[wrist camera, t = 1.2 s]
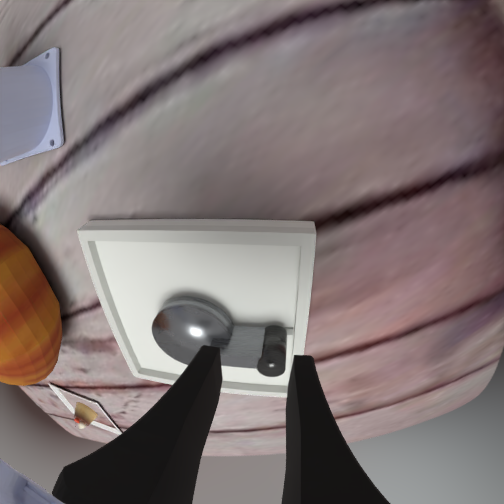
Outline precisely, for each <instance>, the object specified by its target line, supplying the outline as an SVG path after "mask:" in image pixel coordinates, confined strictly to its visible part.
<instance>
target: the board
mask: <svg viewBox="0 0 504 504" xmlns="http://www.w3.org/2000/svg"><path fill="white" fill-rule="evenodd" d="M77 233H78V237H79V240H80V244H81V247H82V251H83V254H84V257H85V260H86V263H87V266H88V269H89V272H90V275H91V278H92V281H93V284H94V287H95V289H96V292H97V295H98V298H99V300H100V303H101V305H102V308H103V310H104V313H105V315H106V318H107V320H108V322H109V325H110V327H111V330H112V332H113V334H114V336H115V339H116V341H117V343H118V345H119V347H120V349H121V352H122V354H123V356H124V358H125V360H126V362H127V364H128V366H129V368H130V370H131V372H132V374H133V376H134V377H138V378H142V379H147V380H151V381H156V382H161V383H166V384H171V385H173V384H174V383H175V381H176V380H177V379H178V378H179V377H180V375H181V374H182V373H183V372H184V370H185V369H186V368H187V366H188V365H186V364H183V363H181V362H179V361H177V360H175V359H173V358H171V357H170V356H169V355H167V354H166V353H165V352H164V351H163V350H162V349H161V348H160V347H159V346H158V344H157V343H156V341H155V340H154V337H153V334H152V323H153V321H154V319H155V317H156V315H157V314H158V312H159V310H160V308H161V307H162V305H163V304H164V303H165V302H166V301H168V300H170V299H172V298H175V297H179V296H192V297H197V298H201V299H204V300H207V301H209V302H211V303H213V304H215V305H216V306H218V307H219V308H221V309H222V310H223V311H224V312H225V313H226V314H227V315H228V316H229V317H230V319H231V320H232V322H233V324H234V326H245V327H261V328H266V327H267V326H270V325H278V326H281V327H283V328H284V329H285V330H286V331H287V351H286V369H285V372H284V373H283V374H282V375H280V376H277V377H267V376H264V375H262V374H260V373H259V372H258V370H257V369H253V368H241V367H230V366H221V367H222V377H223V380H222V386H221V391H220V392H224V393H233V394H243V395H254V396H268V397H287V390H288V383H289V378H290V373H291V368H292V363H293V358H294V355H303V354H304V346H305V339H306V331H307V324H308V315H309V307H310V298H311V289H312V279H313V268H314V257H315V245H316V229H315V224H314V221H291V220H249V219H128V220H90V221H89V222H88V223H86V224H85V225H84V226H82V227H81V228H80V229H78V230H77Z"/></svg>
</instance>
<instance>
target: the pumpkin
mask: <svg viewBox="0 0 504 504" xmlns="http://www.w3.org/2000/svg"><path fill="white" fill-rule="evenodd" d="M61 340H62V322H61V315H60V306H59V302H58V300H57V298H56V296H55V295H54V293H53V291H52V289H51V287H50V285H49V283H48V281H47V279H46V277H45V276H44V274H43V272H42V271H41V269H40V267H39V266H38V264H37V262H36V260H35V259H34V257H33V255H32V253H31V252H30V250H29V248H28V247H27V246H26V245H25V244H23V243H22V242H21V241H20V240H19V239H18V238H17V237H16V236H15V235H14V234H13V233H12V232H11V231H10V230H9V229H7V228H6V227H4V226H3V225H1V224H0V381H1V382H4V383H7V384H10V385H23V386H25V385H30V384H35V383H37V382H39V381H41V380H43V379H45V378H46V377H47V376H48V375H49V374H50V373H51V372H52V371H53V369H54V367H55V365H56V363H57V361H58V356H59V350H60V345H61Z"/></svg>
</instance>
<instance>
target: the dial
mask: <svg viewBox="0 0 504 504" xmlns="http://www.w3.org/2000/svg"><path fill="white" fill-rule="evenodd" d="M152 334H153V337H154V340H155V341H156V343H157V344H158V346H159V347H160V348H161V349H162V350H163V351H164V352H165V353H166V354H167V355H169V356H170V357H171V358H173V359H175V360H177V361H179V362H181V363H183V364H186V365H189V364H190V362H191V361H192V359H193V358H194V356H195V355H196V354H197V352H198V351H199V349H200V347H201V346H203V345H207V346H214V347H220V355H221V366H230V367H241V368H253V369H257V370H258V372H259V373H260V374H262V375H264V376H267V377H277V376H280V375H282V374H283V373H284V372H285V369H286V351H287V331H286V330H285V329H284V328H283V327H281V326H278V325H270V326H267V327H266V328H261V327H245V326H234V324H233V322H232V320H231V319H230V317H229V316H228V315H227V314H226V313H225V312H224V311H223V310H222V309H221V308H219V307H218V306H216V305H215V304H213V303H211V302H209V301H207V300H204V299H201V298H197V297H192V296H179V297H175V298H172V299H170V300H168V301H166V302H165V303H164V304H163V305H162V307H161V308H160V310H159V312H158V314H157V315H156V317H155V319H154V321H153V323H152Z"/></svg>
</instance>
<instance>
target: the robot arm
mask: <svg viewBox="0 0 504 504" xmlns="http://www.w3.org/2000/svg"><path fill="white" fill-rule="evenodd" d="M49 54H50V55H49ZM53 141H54V143H53ZM63 143H64V137H63V128H62V118H61V106H60V87H59V48H57V47H53V48H51V49H49V50H47V51H45V52H44V53H42V54H40V55H39V56H37V57H35V58H33V59H32V60H30V61H29V62H27V63H25V64H24V65H22V66H12V67H1V68H0V165H1V166H3V165H6V164H9V163H11V162H14V161H17V160H20V159H23V158H26V157H29V156H32V155H35V154H39V153H42V152H45V151H49V150H52V149H56V148H59V147H61V146H62V145H63ZM222 380H223V377H222V367H221V355H220V347H214V346H207V345H203V346H201V347H200V349H199V351H198V352H197V354H196V355H195V356H194V358H193V359H192V361H191V362H190V364H189V365H188V366H187V368H186V369H185V370H184V372H183V373H182V374H181V375H180V377H179V378H178V379H177V380H176V381H175V383H174V384H173V385H172V386H171V388H170V389H169V390H168V391H167V392H166V393H165V394H164V395H163V396H162V397H161V399H160V400H159V401H158V402H157V403H156V404H155V405H154V406H153V407H152V408H151V409H150V410H149V411H148V412H147V413H146V414H145V415H144V416H143V417H141V418H140V419H139V420H138V421H137V422H136V423H135V424H133V425H132V426H131V427H130V428H128V429H127V430H126V431H124V432H123V433H122V434H121V435H119V436H118V437H117V438H115V439H114V440H112V441H111V442H109V443H108V444H106V445H105V446H103V447H101V448H100V449H98V450H97V451H95V452H93V453H91V454H90V455H88V456H86V457H84V458H82V459H80V460H78V461H76V462H74V463H71V464H69V465H67V466H65V467H64V468H63V470H62V472H61V473H60V475H59V477H58V479H57V481H56V484H55V486H54V489H53V491H52V494H53V495H51V494H49V493H48V492H47V491H46V489H44V488H43V487H41V486H40V485H38V484H37V483H35V482H34V481H33V480H31V479H30V478H28V477H27V476H25V475H24V474H22V473H20V472H18V471H17V470H15V469H14V468H12V467H11V466H10V465H9V464H7V463H6V462H5V461H3V460H2V459H0V504H192V500H193V495H194V490H195V484H196V479H197V474H198V469H199V464H200V459H201V456H202V452H203V448H204V445H205V442H206V439H207V436H208V433H209V430H210V427H211V424H212V421H213V418H214V415H215V411H216V408H217V405H218V401H219V396H220V391H221V386H222ZM282 504H390V503H389V502H388V501H387V500H386V498H385V497H384V496H383V495H382V494H381V493H380V491H379V490H378V489H377V488H376V487H375V485H374V484H373V483H372V481H371V480H370V479H369V477H368V476H367V474H366V473H365V472H364V470H363V469H362V467H361V466H360V464H359V463H358V461H357V460H356V458H355V457H354V455H353V453H352V452H351V450H350V448H349V446H348V445H347V443H346V441H345V439H344V437H343V435H342V434H341V432H340V430H339V427H338V425H337V423H336V421H335V419H334V417H333V415H332V412H331V410H330V408H329V405H328V403H327V400H326V398H325V395H324V392H323V390H322V387H321V384H320V381H319V378H318V374H317V371H316V367H315V363H314V358H313V357H312V356H307V355H294V358H293V363H292V368H291V373H290V378H289V383H288V390H287V402H286V473H285V481H284V489H283V497H282Z"/></svg>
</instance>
